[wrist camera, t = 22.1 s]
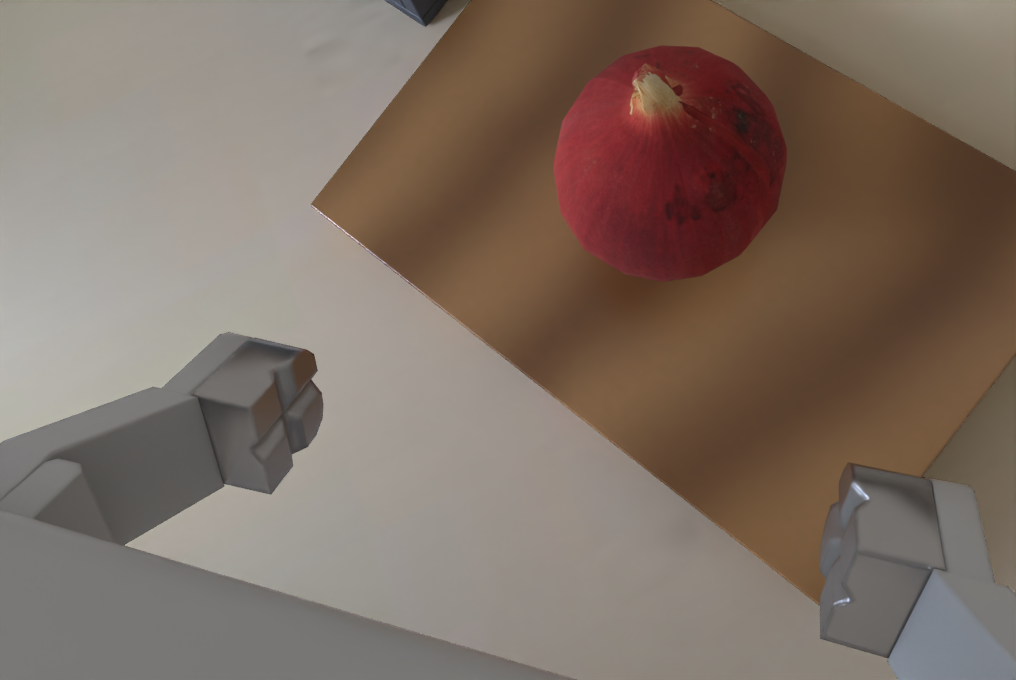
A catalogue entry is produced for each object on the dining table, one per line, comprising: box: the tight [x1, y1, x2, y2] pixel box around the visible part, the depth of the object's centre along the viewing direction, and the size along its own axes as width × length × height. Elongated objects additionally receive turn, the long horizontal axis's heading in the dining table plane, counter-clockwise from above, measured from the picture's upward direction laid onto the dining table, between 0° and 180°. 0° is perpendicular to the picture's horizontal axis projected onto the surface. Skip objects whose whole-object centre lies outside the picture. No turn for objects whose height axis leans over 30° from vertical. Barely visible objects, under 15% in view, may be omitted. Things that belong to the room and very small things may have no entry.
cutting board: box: [311, 0, 1016, 605], centre depth 25 cm, size 20×13×2 cm, turn 51°
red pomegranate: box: [554, 45, 787, 282], centre depth 20 cm, size 6×6×8 cm
